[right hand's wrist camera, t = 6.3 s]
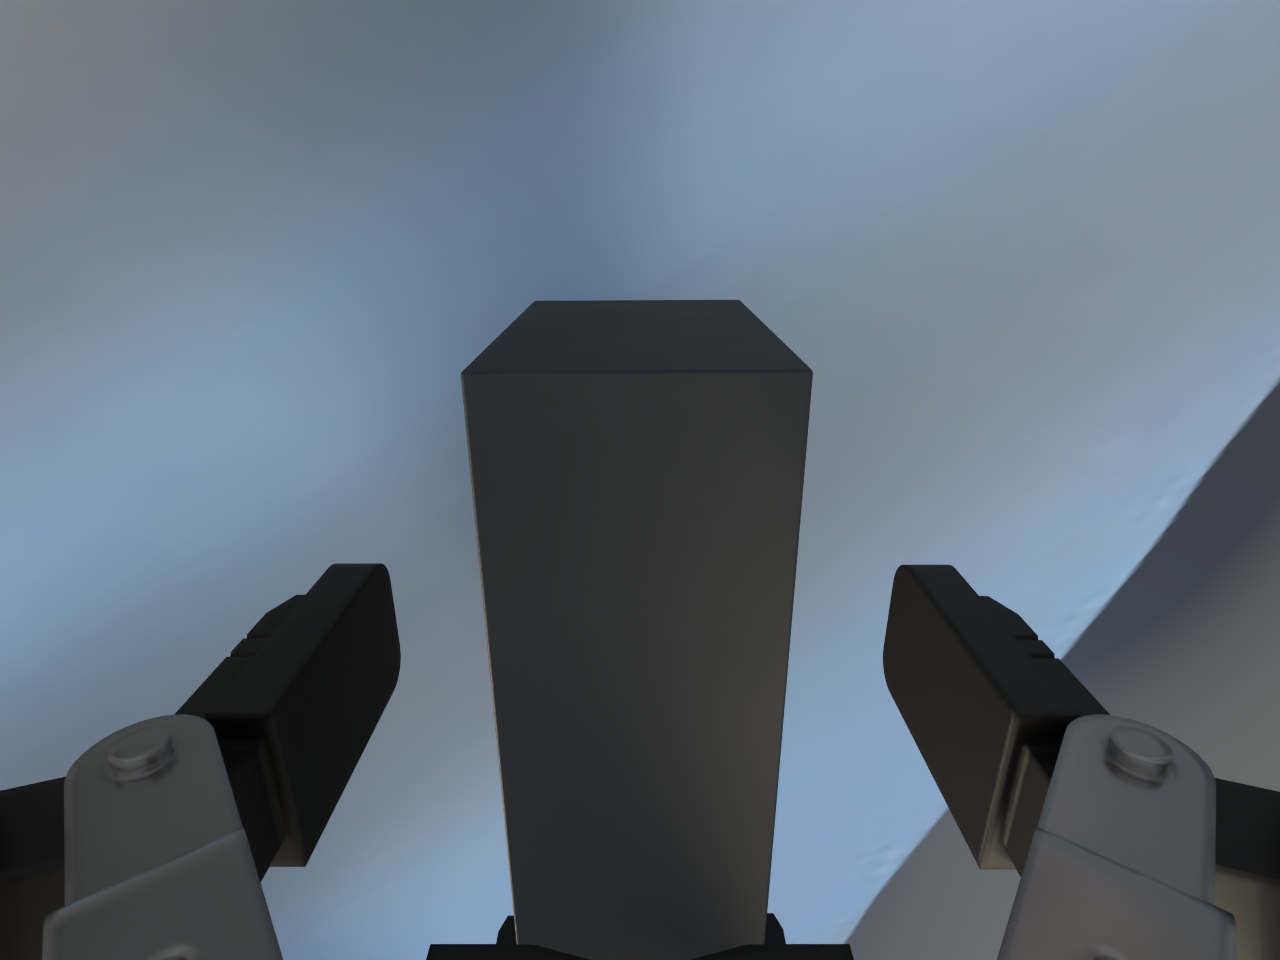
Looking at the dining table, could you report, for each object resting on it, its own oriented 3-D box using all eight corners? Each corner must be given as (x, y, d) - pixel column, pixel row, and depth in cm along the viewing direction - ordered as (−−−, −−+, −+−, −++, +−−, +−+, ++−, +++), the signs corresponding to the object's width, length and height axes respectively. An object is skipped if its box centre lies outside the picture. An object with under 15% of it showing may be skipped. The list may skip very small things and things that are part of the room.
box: (533, 300, 20) (459, 371, 12) (740, 299, 20) (814, 369, 12) (566, 867, 28) (536, 1151, 20) (714, 866, 28) (747, 1149, 20)
